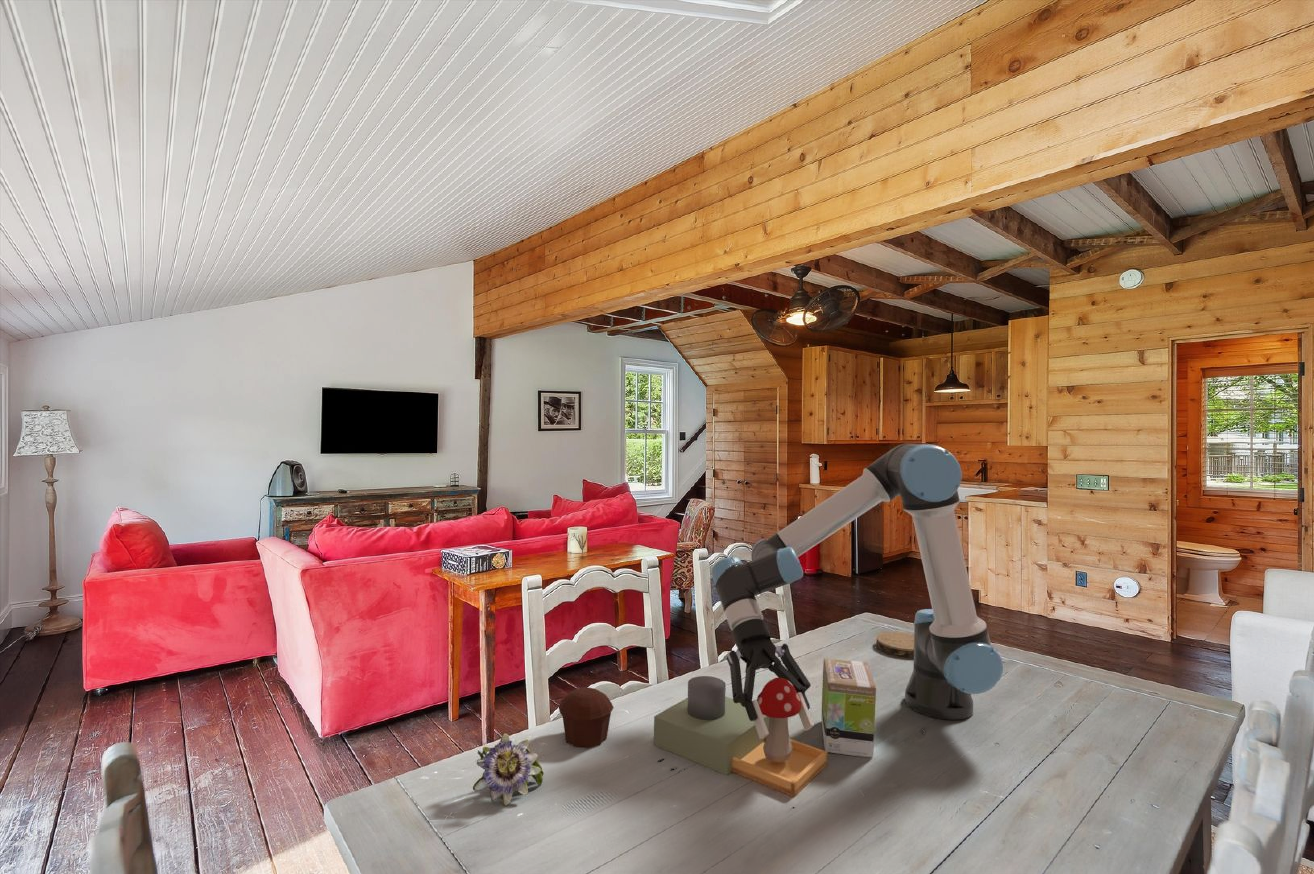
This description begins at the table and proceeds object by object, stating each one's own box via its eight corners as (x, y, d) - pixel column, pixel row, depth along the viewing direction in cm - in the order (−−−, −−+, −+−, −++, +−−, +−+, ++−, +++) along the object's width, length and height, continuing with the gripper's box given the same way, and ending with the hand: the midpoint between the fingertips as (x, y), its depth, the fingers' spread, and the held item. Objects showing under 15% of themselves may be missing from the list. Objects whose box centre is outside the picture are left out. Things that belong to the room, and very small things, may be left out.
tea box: (875, 759, 130) (877, 687, 129) (824, 753, 132) (825, 682, 131) (866, 725, 145) (868, 660, 144) (820, 720, 147) (822, 656, 146)
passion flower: (506, 833, 113) (469, 794, 108) (493, 790, 122) (458, 752, 118) (560, 788, 116) (525, 748, 111) (543, 750, 125) (511, 711, 120)
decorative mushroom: (768, 737, 133) (770, 666, 132) (808, 750, 128) (810, 676, 127) (746, 757, 125) (747, 681, 124) (787, 772, 120) (789, 693, 119)
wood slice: (881, 657, 188) (881, 647, 188) (872, 639, 203) (872, 629, 203) (938, 661, 185) (938, 651, 185) (925, 643, 201) (925, 633, 201)
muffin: (622, 732, 139) (623, 686, 139) (596, 756, 129) (597, 707, 129) (575, 720, 144) (576, 676, 144) (547, 743, 134) (548, 695, 134)
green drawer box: (830, 760, 129) (832, 701, 129) (790, 801, 115) (791, 735, 114) (702, 714, 148) (703, 663, 148) (653, 744, 134) (654, 687, 134)
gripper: (784, 628, 144) (826, 730, 130) (695, 639, 136) (729, 749, 122) (798, 611, 139) (843, 715, 125) (706, 622, 131) (743, 734, 117)
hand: (787, 732), depth 123 cm, fingers closed on decorative mushroom, 9 cm apart
